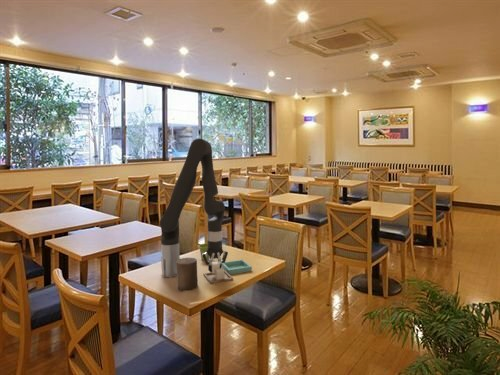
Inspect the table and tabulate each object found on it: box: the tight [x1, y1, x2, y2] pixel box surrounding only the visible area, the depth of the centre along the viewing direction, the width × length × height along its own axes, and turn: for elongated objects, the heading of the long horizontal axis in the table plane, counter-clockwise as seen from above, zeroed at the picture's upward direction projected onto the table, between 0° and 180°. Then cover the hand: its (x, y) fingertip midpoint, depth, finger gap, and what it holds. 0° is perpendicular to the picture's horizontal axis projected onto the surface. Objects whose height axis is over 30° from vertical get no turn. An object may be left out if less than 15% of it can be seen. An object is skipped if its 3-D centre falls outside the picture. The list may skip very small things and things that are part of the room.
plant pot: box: [198, 242, 209, 262], centre depth 212 cm, size 9×9×9 cm
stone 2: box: [215, 267, 225, 280], centre depth 179 cm, size 4×4×5 cm
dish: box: [221, 259, 253, 275], centre depth 194 cm, size 13×13×3 cm
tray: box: [202, 269, 234, 285], centre depth 182 cm, size 12×13×2 cm
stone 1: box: [211, 260, 220, 274], centre depth 183 cm, size 4×4×5 cm
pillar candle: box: [176, 257, 199, 292], centre depth 170 cm, size 10×10×15 cm
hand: (215, 271), depth 183 cm, fingers closed on stone 1, 4 cm apart
